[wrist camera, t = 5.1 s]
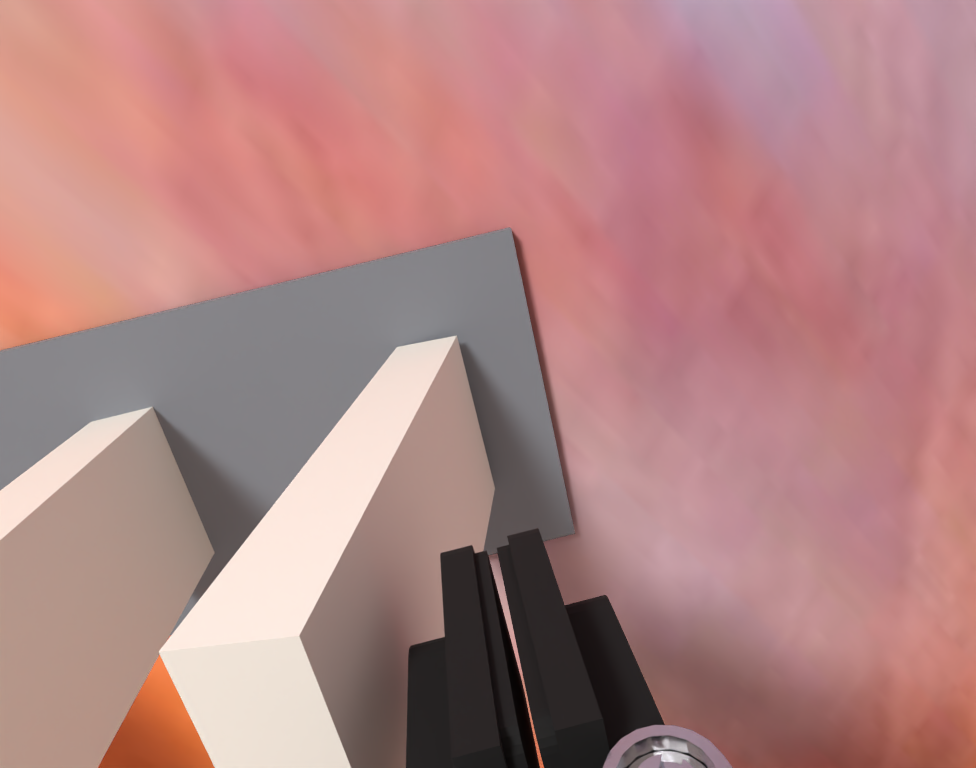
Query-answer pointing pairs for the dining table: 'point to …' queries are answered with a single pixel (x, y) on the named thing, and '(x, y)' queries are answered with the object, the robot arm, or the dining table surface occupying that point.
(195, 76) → the dining table surface
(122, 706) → the domino
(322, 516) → the domino
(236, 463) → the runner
